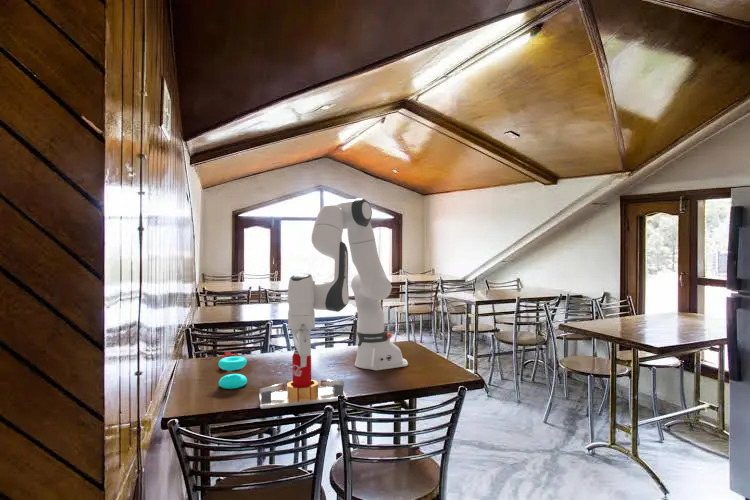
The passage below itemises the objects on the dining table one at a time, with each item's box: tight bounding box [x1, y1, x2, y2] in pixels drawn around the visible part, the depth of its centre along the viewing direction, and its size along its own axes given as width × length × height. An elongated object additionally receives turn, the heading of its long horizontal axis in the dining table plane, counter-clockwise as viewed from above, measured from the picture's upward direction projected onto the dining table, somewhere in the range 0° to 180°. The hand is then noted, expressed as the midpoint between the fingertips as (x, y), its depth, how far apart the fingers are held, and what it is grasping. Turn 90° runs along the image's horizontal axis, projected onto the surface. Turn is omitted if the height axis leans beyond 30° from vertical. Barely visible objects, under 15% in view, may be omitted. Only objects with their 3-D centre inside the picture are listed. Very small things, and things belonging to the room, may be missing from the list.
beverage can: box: [291, 349, 312, 387], centre depth 159 cm, size 6×6×12 cm
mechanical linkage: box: [220, 351, 240, 371], centre depth 201 cm, size 16×7×5 cm, turn 25°
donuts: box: [217, 355, 248, 390], centre depth 174 cm, size 10×10×10 cm
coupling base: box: [258, 378, 348, 410], centre depth 159 cm, size 28×12×6 cm, turn 105°
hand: (302, 363), depth 159 cm, fingers closed on beverage can, 6 cm apart
